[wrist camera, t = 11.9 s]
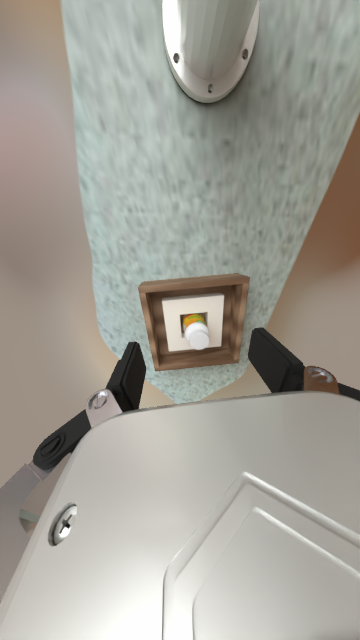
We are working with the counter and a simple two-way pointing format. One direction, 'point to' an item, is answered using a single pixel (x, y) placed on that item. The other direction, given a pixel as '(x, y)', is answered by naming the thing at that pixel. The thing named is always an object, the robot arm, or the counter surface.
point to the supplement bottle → (196, 331)
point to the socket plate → (190, 305)
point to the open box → (233, 313)
